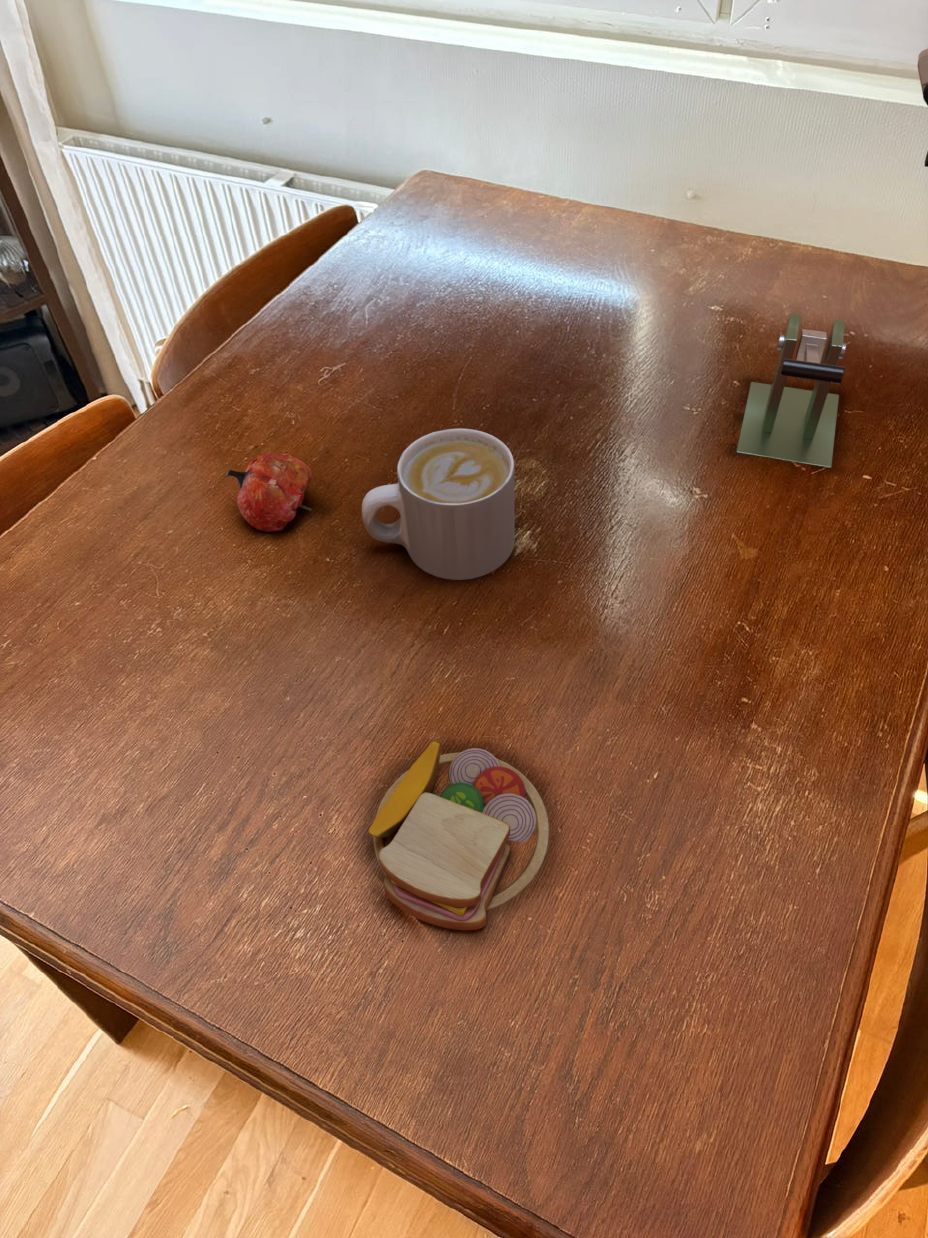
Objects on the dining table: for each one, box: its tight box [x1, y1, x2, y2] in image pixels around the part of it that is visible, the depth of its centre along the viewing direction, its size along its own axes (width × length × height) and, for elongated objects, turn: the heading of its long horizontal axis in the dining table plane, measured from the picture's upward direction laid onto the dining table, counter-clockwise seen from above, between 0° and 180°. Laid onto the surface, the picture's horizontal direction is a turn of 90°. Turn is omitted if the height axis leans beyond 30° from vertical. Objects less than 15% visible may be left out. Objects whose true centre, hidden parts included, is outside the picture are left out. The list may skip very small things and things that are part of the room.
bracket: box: [735, 313, 848, 469], centre depth 87 cm, size 12×9×12 cm
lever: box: [780, 328, 845, 385], centre depth 81 cm, size 11×5×2 cm, turn 162°
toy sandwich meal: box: [368, 740, 550, 931], centre depth 63 cm, size 12×14×5 cm
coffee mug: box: [361, 427, 516, 581], centre depth 80 cm, size 13×10×10 cm
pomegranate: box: [224, 453, 313, 533], centre depth 84 cm, size 7×7×10 cm
